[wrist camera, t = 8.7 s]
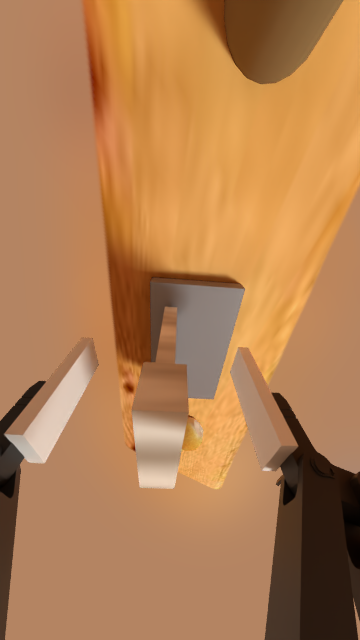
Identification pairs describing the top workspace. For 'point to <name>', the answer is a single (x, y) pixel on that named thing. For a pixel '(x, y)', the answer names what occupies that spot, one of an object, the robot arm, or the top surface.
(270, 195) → the top surface
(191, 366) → the board
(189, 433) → the bread roll
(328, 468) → the robot arm
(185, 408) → the gate
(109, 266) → the top surface
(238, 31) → the olive mushroom
